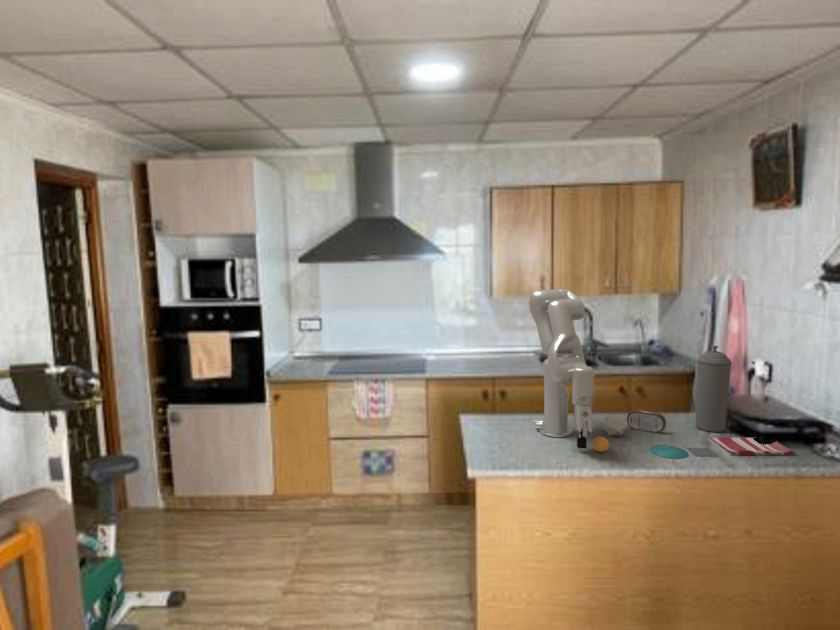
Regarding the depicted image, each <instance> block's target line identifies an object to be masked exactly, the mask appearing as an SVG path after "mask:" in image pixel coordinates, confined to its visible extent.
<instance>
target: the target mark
mask: <svg viewBox="0 0 840 630" xmlns="http://www.w3.org/2000/svg"><path fill="white" fill-rule="evenodd" d="M665 446H666V447H665ZM667 446H668V447H667ZM661 447H662V448H661ZM649 449H650V450H649V451H650V452H651V453H652V454H653V453H654V455H655V454H656V455H655V456H658V455H659V456H658V457H661V456H662V458H665V457H667V459H672V458H674V459H678V460H679V459H685V458H687V457H689V452H688V451H687V450H685V449H683V448H681V447H678V446H673V445H665V444H661V445H660V444H659V445H654V446H651V447H650V448H649Z"/></svg>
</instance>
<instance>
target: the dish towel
mask: <svg viewBox="0 0 840 630" xmlns="http://www.w3.org/2000/svg"><path fill="white" fill-rule="evenodd" d="M753 438H754V437H729V436H728V437H725V436H724V437H719V436H717V437H709V438H708V442H710V443H712V444H713V445H714V446H716V447H718V448H719V449H720V450H721V451H723V452H724V453H726V454H727V455H729V456H739V457H741V456H742V457H747V456H748V457H753V456H756V457H757V456H795V451H794V449H791V448H788V447H786V446H784V445H783V444H781V443H780V442H778V441H777V440H776V442H774V443H772V444H766V445H765V444H764V445H763V444H760V443H758V442H757V441H755V440H754V439H753Z"/></svg>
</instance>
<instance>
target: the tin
mask: <svg viewBox="0 0 840 630" xmlns="http://www.w3.org/2000/svg"><path fill="white" fill-rule="evenodd" d="M626 421H627V422H626V423H627V425H628V426H629V427H630V428H631V429H633V430H634V431H635V430H636V431H642V432H648V433H655V434H659V433H662V431H664V429H665V428H666V426H667V420H666V417H665V416H664V415H663V414H662V413H660V412H657V411H652V410H645V409H640V408H639V409H636V408H635V409H631V410H630V411H629V412H628V414H627V417H626Z"/></svg>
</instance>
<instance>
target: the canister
mask: <svg viewBox="0 0 840 630" xmlns="http://www.w3.org/2000/svg"><path fill="white" fill-rule="evenodd" d="M711 348H712V350H710V351H708V350H707V351H705V352H703V353H702V354H701V355H700V356H699V357H698V358H697V359H696V393H695V395H696V396H695V397H696V398H695V399H696V403H695V404H696V405H695V427H696V428H697V429H699V430H701V431H705V432H713V433H720V432H724V431H725V430H726V424H727V413H728V404H729V403H728V402H729V395H730V394H729V393H730V381H731V367H732V364H733V362H732V360H731V359H730V358H729V357H728V356H727V354H725V353H724V352H722V351H718V350H717V349H718V348H719V346H718V345H711Z"/></svg>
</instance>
